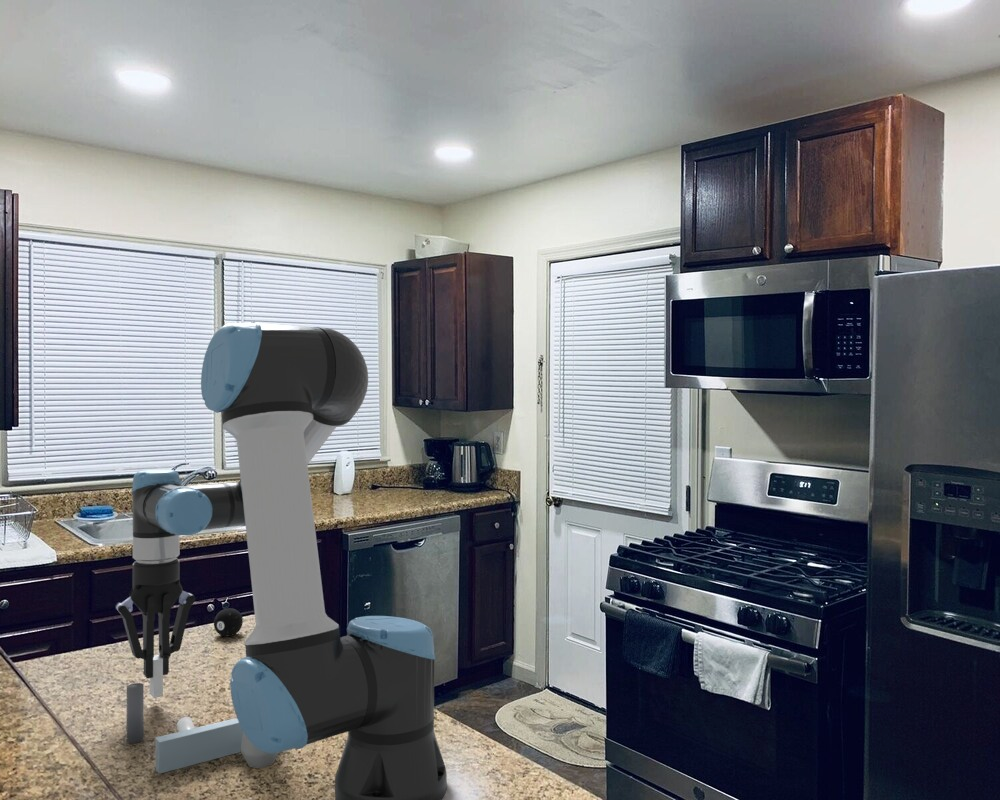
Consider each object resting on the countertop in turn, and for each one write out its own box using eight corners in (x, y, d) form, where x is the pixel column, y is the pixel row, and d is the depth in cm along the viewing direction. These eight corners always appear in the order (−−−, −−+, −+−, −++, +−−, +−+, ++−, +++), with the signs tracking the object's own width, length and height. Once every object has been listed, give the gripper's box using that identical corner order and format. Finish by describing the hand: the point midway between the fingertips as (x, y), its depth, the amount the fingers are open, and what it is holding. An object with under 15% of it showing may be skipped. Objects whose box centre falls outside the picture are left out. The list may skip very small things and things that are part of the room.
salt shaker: (269, 772, 115) (269, 682, 115) (233, 768, 116) (233, 679, 116) (288, 754, 120) (288, 668, 120) (253, 751, 122) (253, 665, 121)
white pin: (195, 723, 130) (203, 743, 122) (183, 735, 129) (190, 756, 121) (185, 713, 129) (192, 733, 121) (173, 725, 128) (179, 746, 120)
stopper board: (280, 741, 125) (280, 712, 125) (159, 773, 114) (159, 742, 114) (275, 736, 127) (275, 708, 127) (155, 768, 116) (155, 737, 116)
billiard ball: (247, 632, 182) (247, 606, 182) (232, 640, 176) (232, 613, 176) (224, 630, 184) (224, 604, 184) (208, 638, 178) (208, 611, 178)
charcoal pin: (145, 740, 125) (145, 686, 125) (128, 744, 124) (128, 689, 124) (141, 735, 127) (141, 682, 127) (125, 739, 126) (125, 685, 126)
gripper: (188, 551, 146) (188, 680, 147) (110, 560, 138) (110, 696, 139) (201, 558, 140) (201, 692, 141) (120, 567, 133) (120, 710, 133)
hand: (156, 694), depth 140 cm, fingers closed
